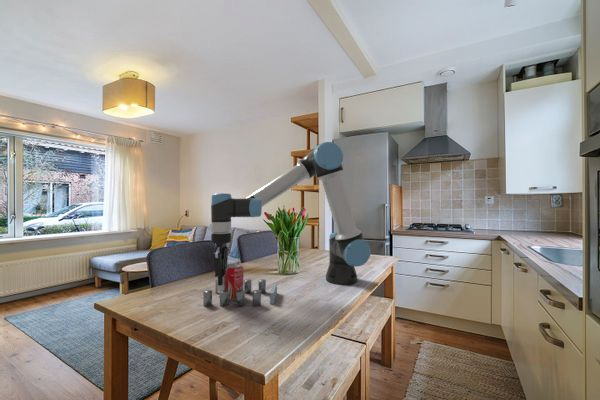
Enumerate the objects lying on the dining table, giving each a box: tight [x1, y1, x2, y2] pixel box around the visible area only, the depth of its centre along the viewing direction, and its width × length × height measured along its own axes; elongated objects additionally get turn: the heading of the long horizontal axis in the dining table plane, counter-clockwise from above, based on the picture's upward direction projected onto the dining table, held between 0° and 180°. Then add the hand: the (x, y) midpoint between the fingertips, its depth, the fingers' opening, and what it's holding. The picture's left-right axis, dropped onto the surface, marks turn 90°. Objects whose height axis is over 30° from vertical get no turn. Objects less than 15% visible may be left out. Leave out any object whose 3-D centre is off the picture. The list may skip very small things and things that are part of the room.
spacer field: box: [202, 278, 267, 308], centre depth 106 cm, size 21×17×5 cm
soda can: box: [224, 262, 244, 302], centre depth 106 cm, size 7×7×13 cm
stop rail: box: [269, 283, 278, 305], centre depth 106 cm, size 2×12×4 cm, turn 0°
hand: (221, 292), depth 106 cm, fingers closed
